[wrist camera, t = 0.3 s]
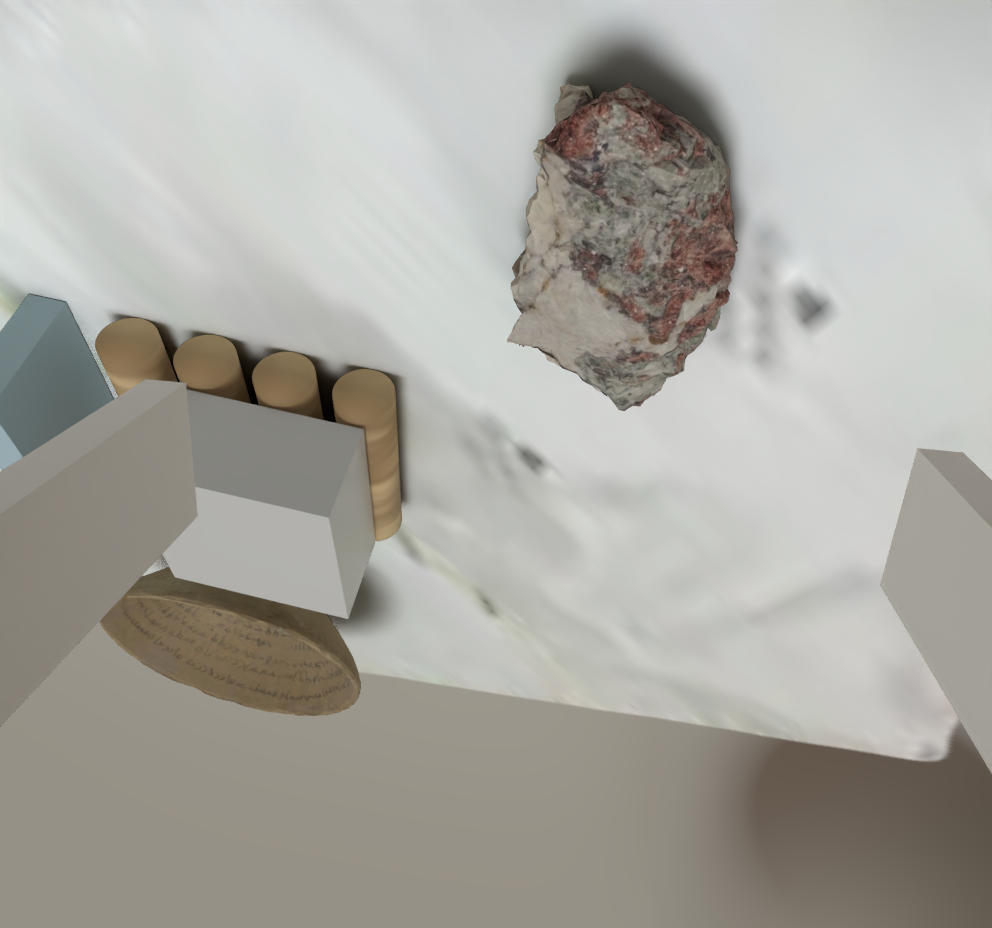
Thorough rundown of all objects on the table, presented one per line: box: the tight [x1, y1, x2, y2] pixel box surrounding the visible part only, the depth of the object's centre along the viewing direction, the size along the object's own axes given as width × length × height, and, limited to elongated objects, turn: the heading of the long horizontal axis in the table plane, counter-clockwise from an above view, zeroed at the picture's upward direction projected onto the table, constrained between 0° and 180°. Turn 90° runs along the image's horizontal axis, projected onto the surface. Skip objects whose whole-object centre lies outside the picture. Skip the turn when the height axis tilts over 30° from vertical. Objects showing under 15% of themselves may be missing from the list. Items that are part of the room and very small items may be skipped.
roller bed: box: [95, 318, 402, 541], centre depth 47 cm, size 12×15×3 cm
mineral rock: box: [507, 82, 738, 411], centre depth 31 cm, size 15×8×4 cm, turn 171°
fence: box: [0, 294, 114, 470], centre depth 46 cm, size 12×2×7 cm, turn 176°
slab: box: [162, 389, 376, 619], centre depth 44 cm, size 11×10×5 cm
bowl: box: [100, 567, 361, 716], centre depth 62 cm, size 18×18×8 cm
